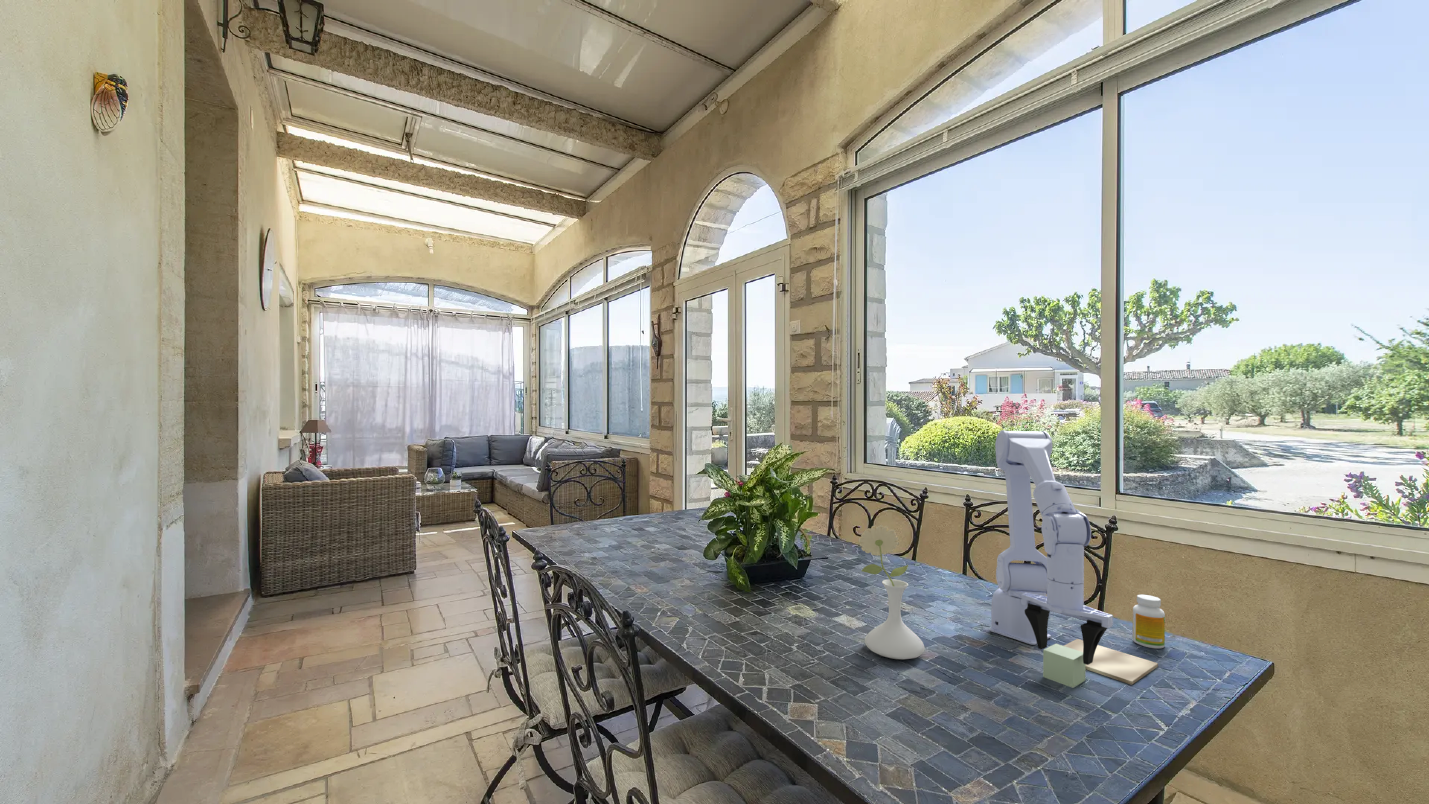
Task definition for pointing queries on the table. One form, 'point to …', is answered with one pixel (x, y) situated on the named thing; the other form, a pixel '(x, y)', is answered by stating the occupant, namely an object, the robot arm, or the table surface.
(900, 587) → the flower in vase
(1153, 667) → the wooden board
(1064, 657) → the sage cube
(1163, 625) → the supplement bottle
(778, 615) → the table surface
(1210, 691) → the table surface
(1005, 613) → the robot arm
